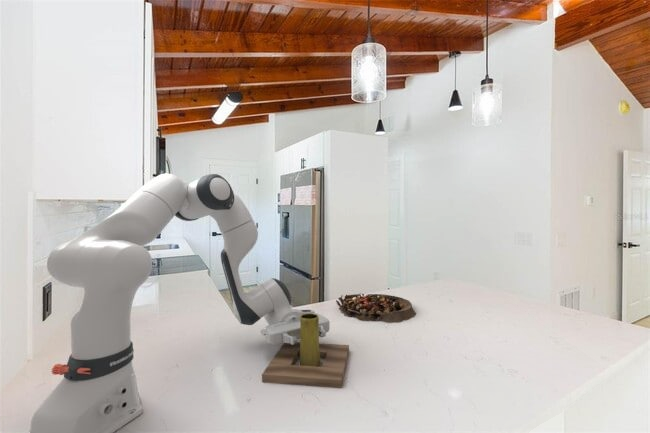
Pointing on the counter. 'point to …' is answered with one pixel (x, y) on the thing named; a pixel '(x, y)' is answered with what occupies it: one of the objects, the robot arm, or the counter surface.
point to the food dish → (376, 308)
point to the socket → (323, 376)
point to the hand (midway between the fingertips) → (309, 337)
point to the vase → (309, 340)
